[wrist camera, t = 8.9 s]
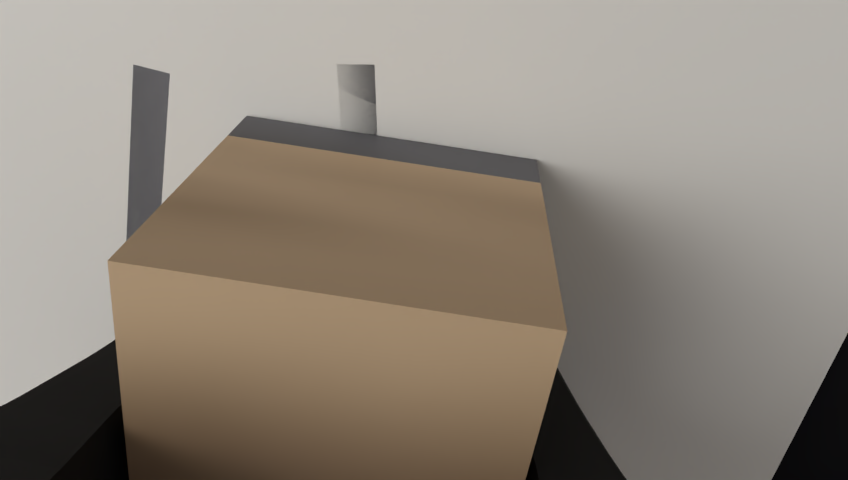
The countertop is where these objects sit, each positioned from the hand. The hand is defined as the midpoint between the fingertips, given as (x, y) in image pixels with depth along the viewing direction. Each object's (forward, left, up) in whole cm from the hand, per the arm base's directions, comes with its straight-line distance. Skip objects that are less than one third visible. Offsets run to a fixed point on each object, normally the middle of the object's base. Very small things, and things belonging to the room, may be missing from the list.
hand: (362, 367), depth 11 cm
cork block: (0, 0, -1) cm, 1 cm away
